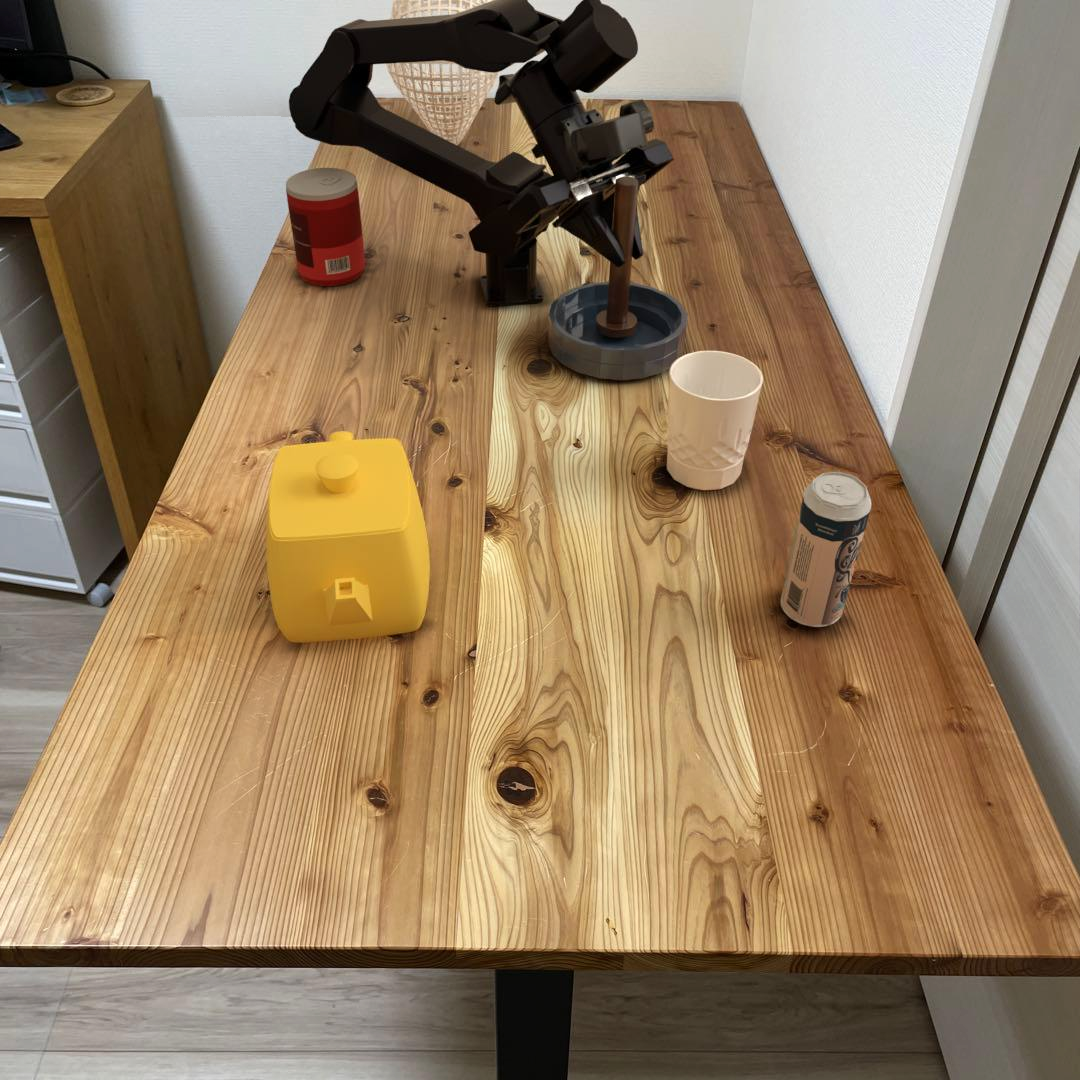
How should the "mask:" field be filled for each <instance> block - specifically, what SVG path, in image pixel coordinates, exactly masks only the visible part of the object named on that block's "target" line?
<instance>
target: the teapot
mask: <svg viewBox="0 0 1080 1080" xmlns="http://www.w3.org/2000/svg"><path fill="white" fill-rule="evenodd" d="M268 488H269V489H268V497H267V508H266V524H265V526H266V527H265V557H266V559H265V560H266V569H267V570H266V571H267V580H268V588H269V596H270V601H271V606H272V612H273V616H274V619H275V622H276V624H277V627H278V629H279V630H280V632H281V634H282V635H283V636H284V638H286V639H287V641H288V642H290V643H321V642H333V641H335V642H336V641H346V640H359V639H369V638H376V637H377V638H378V637H385V636H395V635H401V634H409V633H412V632H416V631H418V630H419V629H420V627H421V626H422V624H423V621H424V618H425V615H426V613H427V612H426V611H427V607H428V600H429V594H430V593H429V592H430V579H431V559H430V558H431V557H430V547H429V538H428V533H427V527H426V522H425V518H424V517H425V516H424V513H423V509H422V505H421V501H420V497H419V493H418V489H417V486H416V483H415V479H414V475H413V472H412V470H411V466H410V463H409V460H408V457H407V454H406V451H405V448H404V446H403V444H402V442H401V441H400V440H399V439H397V438H396V437H395V438H394V437H388V438H386V437H385V438H361V439H355V436H354V434H353V433H352V432H350V431H346V430H340V431H335V432H332V433H330V434H329V436H328V440H327V441H319V442H310V443H309V442H308V443H301V444H300V443H299V444H290V445H283V446H282V447H281V448H279V450H278V451H277V453H276V455H275V458H274V460H273V464H272V469H271V475H270V481H269V487H268Z"/></svg>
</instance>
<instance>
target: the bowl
mask: <svg viewBox="0 0 1080 1080" xmlns="http://www.w3.org/2000/svg"><path fill="white" fill-rule="evenodd" d="M608 285H609V281H603V282H592V283H588V284H584V285H583V284H582V285H578V286H576V287H573V288H571V289H569V290H567V291H565V292H563V293H561V294H560V295H558V297H557V298H555V300H554V301H553V302H552V303H551V305H550V308H549V311H548V334H547V338H548V340H547V341H548V342H547V345H548V346H549V349H550V352H551V354H552V356H553V357H554V358H555V359H556V360H557V361H558V362H559V363H560V364H561V365H562V366H564V367H567V368H568V369H570V370H573V371H574V372H576V373H577V374H582V375H585V376H589V377H593V378H597V379H602V380H603V379H604V380H615V381H629V380H640V379H645V378H648V377H652V376H656V375H659V374H662V373H664V372H666V371H667V370H670V367H671V365H672V364H673V363H674V361H676V360H677V359H678V358H680V357H682V356H684V354H685V353H684V351H685V343H686V334H687V326H688V313H687V311H686V310H685V309H686V308H685V307H684V306H683V304H682V303H681V302H680V301H679V300H677V299H676V298H674V296H673V295H671V294H670V293H667V292H664V291H662V290H660V289H658V288H657V287H653V286H649V285H645V284H640V283H635V282H630V289H629V301H628V311H629V312H631V313H633V314H634V315H635V316H636V318H637V329H636V331H635V333H633V334H632V335H630V336H627V337H622V338H613V337H608V336H605V335H602V334H601V333H599V332H598V331H597V330H596V327H595V323H596V316H597V315H598V314H599V313H600V312H602V311H604V310H607V299H608Z"/></svg>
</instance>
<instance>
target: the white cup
mask: <svg viewBox="0 0 1080 1080" xmlns="http://www.w3.org/2000/svg"><path fill="white" fill-rule="evenodd" d="M763 381H764V375H763V373H762V371H761V369H760V368H759V367H758V366H757V365H756V364H755V363H754V362H752V361H751V360H749V359H747V358H745V357H743V356H741V355H740V354H739V355H738V354H735V353H731V352H728V351H727V352H726V351H723V350H699V351H693V352H689V353H687V354H683V355H682V356H681V357H680V358H678V359H677V360H676V361H674V363H673V364H672V365H671V367H670V368H669V374H668V392H667V393H668V395H667V408H666V409H667V410H666V419H667V421H666V440H665V441H666V444H667V452H666V456H667V457H666V471H667V472H668V473H669V474H670V476H671V477H672V479H673V480H674V481H676V482H677V483H679V484H681V485H683V486H685V487H687V488H690V489H695V490H701V491H716V490H722V489H724V488H726V487H728V486H731V485H734V483H735V482H736V481H737V480H738V479H739V477H740V476H741V474H742V470H743V465H744V460H745V455H746V452H747V449H748V446H749V443H750V439H751V434H752V432H753V427H754V424H755V419H756V413H757V409H758V405H759V401H760V396H761V391H762V387H763V383H764V382H763Z"/></svg>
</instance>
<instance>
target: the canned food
mask: <svg viewBox="0 0 1080 1080" xmlns="http://www.w3.org/2000/svg"><path fill="white" fill-rule="evenodd" d="M285 187H286V188H285V192H286V201H287V207H288V214H289V220H290V227H291V233H292V239H293V245H294V246H293V247H294V253H295V260H296V265H297V270H298V273H299V275H300V277H301V278H302V279H303V281H305V282H306V283H308V284H310V285H314V286H318V287H337V286H343V285H345V284H346V285H347V284H349V283H352V282H354V281H356V280H357V279H358V278H360V277H361V276H362V275H363V274H364V271H365V268H366V256H365V246H364V245H365V244H364V235H363V225H362V224H363V223H362V216H361V214H362V213H361V205H360V195H359V194H360V193H359V187H358V181H357V176H356V175H355V174H354V173H353V172H351V171H349V170H347V169H342V168H337V167H317V168H310V169H306V170H302V171H299V172H297V173H295V174H293V175H290V177H289V178H288V179H286V181H285Z"/></svg>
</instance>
